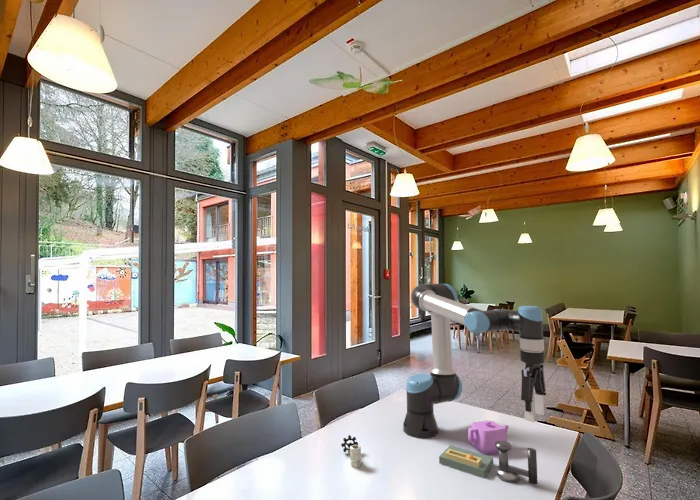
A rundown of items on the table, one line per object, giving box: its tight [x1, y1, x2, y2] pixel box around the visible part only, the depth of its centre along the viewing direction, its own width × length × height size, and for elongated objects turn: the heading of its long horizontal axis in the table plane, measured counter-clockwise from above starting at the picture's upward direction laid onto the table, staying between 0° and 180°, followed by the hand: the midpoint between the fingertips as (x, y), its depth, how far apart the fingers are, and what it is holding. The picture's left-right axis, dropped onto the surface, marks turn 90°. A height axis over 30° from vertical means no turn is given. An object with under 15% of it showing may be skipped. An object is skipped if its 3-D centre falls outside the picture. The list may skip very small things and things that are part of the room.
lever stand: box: [438, 444, 494, 479], centre depth 130 cm, size 16×11×5 cm
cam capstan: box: [495, 441, 538, 485], centre depth 120 cm, size 13×7×11 cm, turn 53°
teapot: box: [467, 420, 509, 455], centre depth 142 cm, size 18×10×10 cm, turn 104°
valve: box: [340, 434, 363, 469], centre depth 133 cm, size 7×7×12 cm
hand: (534, 417), depth 123 cm, fingers open, 8 cm apart
